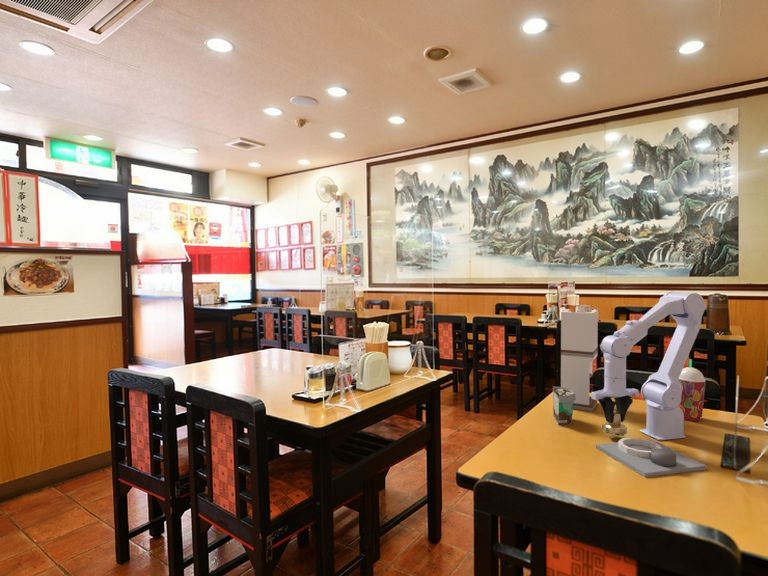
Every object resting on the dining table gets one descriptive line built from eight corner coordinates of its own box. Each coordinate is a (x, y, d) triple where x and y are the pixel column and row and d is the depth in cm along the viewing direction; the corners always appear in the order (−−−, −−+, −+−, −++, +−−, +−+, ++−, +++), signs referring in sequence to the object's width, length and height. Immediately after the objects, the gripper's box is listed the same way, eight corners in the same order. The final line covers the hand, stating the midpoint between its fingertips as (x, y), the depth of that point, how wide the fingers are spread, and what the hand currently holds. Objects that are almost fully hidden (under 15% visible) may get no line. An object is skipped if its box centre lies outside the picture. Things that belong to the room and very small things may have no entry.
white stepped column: (592, 411, 158) (593, 313, 157) (560, 406, 164) (561, 311, 163) (597, 402, 168) (597, 310, 166) (567, 398, 174) (567, 309, 172)
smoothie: (704, 416, 151) (705, 358, 150) (705, 424, 144) (706, 362, 143) (674, 412, 155) (675, 355, 155) (674, 420, 148) (675, 360, 148)
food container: (579, 427, 143) (579, 397, 142) (559, 426, 144) (559, 396, 143) (571, 415, 155) (571, 386, 154) (552, 414, 156) (552, 386, 156)
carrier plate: (650, 442, 130) (650, 430, 130) (706, 469, 113) (706, 455, 113) (596, 448, 127) (596, 435, 127) (645, 477, 109) (645, 463, 109)
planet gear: (616, 427, 137) (616, 408, 137) (632, 435, 131) (632, 414, 131) (597, 429, 136) (597, 409, 136) (612, 437, 130) (613, 416, 130)
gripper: (626, 371, 138) (626, 415, 139) (584, 374, 135) (584, 419, 136) (644, 377, 131) (643, 422, 132) (600, 380, 128) (600, 427, 129)
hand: (614, 421), depth 133 cm, fingers closed on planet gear, 3 cm apart
